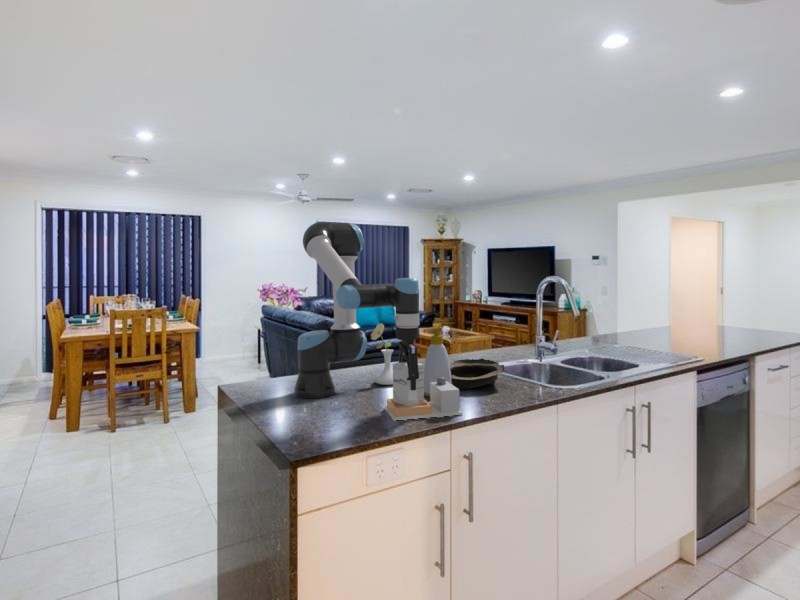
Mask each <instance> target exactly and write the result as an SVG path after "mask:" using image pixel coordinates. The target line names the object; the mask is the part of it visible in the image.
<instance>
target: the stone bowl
mask: <svg viewBox="0 0 800 600" xmlns="http://www.w3.org/2000/svg"><path fill="white" fill-rule="evenodd" d="M450 371H451V382H452V385H453V386H455V387H456V388H458V389H461V390H468V389H474V388H479V387H482V386H486V385H489V386H492V385H494V384H495V383H496V381H498V375H500V374H502V373H504V372H505V365H504V364H500V363H499V362H497V361H494V360H490V359H485V358H483V357H482V358H478V359H473V358H472V359H458V360H454V361H453V363H452V362H451V363H450Z"/></svg>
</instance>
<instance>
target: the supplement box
mask: <svg viewBox="0 0 800 600" xmlns="http://www.w3.org/2000/svg"><path fill="white" fill-rule="evenodd" d="M424 366H425V363H419V362H418V371H419V379H417V400H412V401H409V400H408V380H407V378H409V375H408V367H407V362H401V363H399V362H397V363H393V364H392V370H393V385H392V399H393V402H394V403H399V404H402V405H406V406H413V405H416V404H420V403H423V402H424V399H425V395H424Z"/></svg>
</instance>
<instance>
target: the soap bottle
mask: <svg viewBox="0 0 800 600" xmlns="http://www.w3.org/2000/svg"><path fill="white" fill-rule="evenodd" d="M442 326H443V325H442V323H432V328H433V335H430V344H429V346H428V348H427V352H426V356H425V360H424V396H426V397H429V398H430V382H437V377H445V378H446V381H447V382H449V383H450V384H452V382H451V371H450V365H451V363H450V359H449V355H448V352H447V349H446V346H445V345H444V343H443V342H444V340H443V339H444V338H443V337H444V336H443V335H440V328H441V327H442ZM452 385H453V384H452Z"/></svg>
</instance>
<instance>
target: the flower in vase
mask: <svg viewBox="0 0 800 600" xmlns="http://www.w3.org/2000/svg"><path fill="white" fill-rule="evenodd" d="M384 331H385V324H383V323H378V324H377V325H376V327H375V328H373V329H372V332H371V334H370V339H371V340H373V341H376V340H377V339H379V338H380V337H381V339H382V342H380V343H378V344H377V346H376V349H381V348H382V347H383V346H384V348H385V349H381V350H380V351H381V353H382V354H383V358H384V367H383V369H382V370H381V371H380V372H379V373H378V374H377V375H376V376H375V377H374V379H373V381H374V383H375V384H378V385H380V386H381V385H382V386H383V385H384V386H393V368H392V367H391V359H392V354H393V352H394V349H389V347H391V346H392V340H389V341H387V342H385V341H384V339H383V336H382V334H383V333H384Z"/></svg>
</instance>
